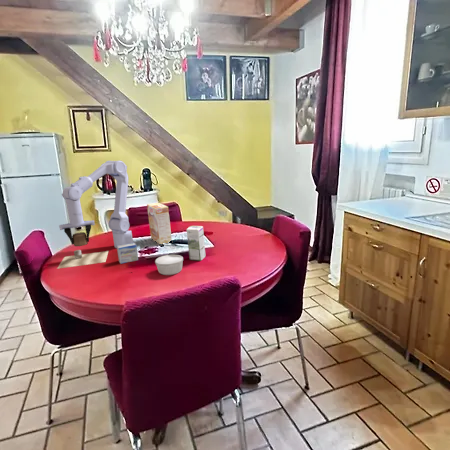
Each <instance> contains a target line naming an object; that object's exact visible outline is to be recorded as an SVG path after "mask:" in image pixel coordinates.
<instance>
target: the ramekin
mask: <svg viewBox="0 0 450 450" xmlns="http://www.w3.org/2000/svg"><path fill="white" fill-rule="evenodd" d="M183 261H184V257H183V256H182V255H179V254H167V255H161V256H159V257H157V258H156V259H155V260H154V263H155V266H156V267H157V271H158V273H159V274H160V275H164V276H172V275H176V274H178V273H180V272H181V271H182V270H183Z"/></svg>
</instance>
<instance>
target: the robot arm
mask: <svg viewBox="0 0 450 450" xmlns="http://www.w3.org/2000/svg"><path fill="white" fill-rule="evenodd" d="M127 169H128V165H126V164H125V162H124V161H122V160H106V161H105V162H104V163H102V164H101V165H100V166H99V167H98V168H96V169H95V170H94V171H93V172H92V173H90V174H89V175H87V176H86V175H85V176H80V177H78V179H77V180H76V181H74V182H72V183H70V186H66V187H64V188H63V190H62V193H61V197H62V198H63V199H65V203H66V204H65V205H66V209H67V214H68V220H69V222H68V223H65V224H59V225H58V227H59V231H62V230H63V232H64V234H65V235H67V237H68V239H69V240H70V244H71V245H74V243H73V238H72V236H73V233H72V229H75V228H83V227H84V228H85V233H86V236H87V242H88V243H89V242H90V234H91V229H92V226H95V225H96V224H95V220H94V219H93V220H84V216H83V209H82V205H81V197H82V196H83V194H84V193H85V192H87V191H88V190H89V189H91V188H92V187H93V185H94V182H96V181H98V180H99V179H100V178H103V176H105V175H110V176H111V177H113V179H114V180H115V181H116V184H115V185H116V186H115V198H114V208H113V212H112V213H111V215H110V218H109V220H108V223H107V224H108V228H109V230H111V232H112V238H113V239H112V240H113V245H114V248H115V249H117V246H120V245H125V244H130V243H135V241H134V239H133V233H132V230H129V229H130V222H129V216H128V215H127V214H126V210H127V200H128V191H129V190H128V189H129V175H128V172H127V171H128V170H127Z"/></svg>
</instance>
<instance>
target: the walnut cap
mask: <svg viewBox="0 0 450 450" xmlns="http://www.w3.org/2000/svg"><path fill="white" fill-rule="evenodd" d="M72 238H73V243H74V244H73V246H74V247H84V246H86V245H87V244H88V243H89V242H87V234H86V231H85V232H84V231H83V232H82V231H81V232H80V231H79V232H76V233H72Z"/></svg>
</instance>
